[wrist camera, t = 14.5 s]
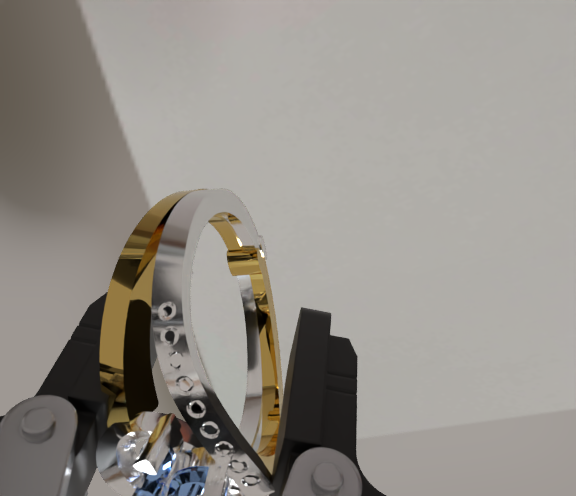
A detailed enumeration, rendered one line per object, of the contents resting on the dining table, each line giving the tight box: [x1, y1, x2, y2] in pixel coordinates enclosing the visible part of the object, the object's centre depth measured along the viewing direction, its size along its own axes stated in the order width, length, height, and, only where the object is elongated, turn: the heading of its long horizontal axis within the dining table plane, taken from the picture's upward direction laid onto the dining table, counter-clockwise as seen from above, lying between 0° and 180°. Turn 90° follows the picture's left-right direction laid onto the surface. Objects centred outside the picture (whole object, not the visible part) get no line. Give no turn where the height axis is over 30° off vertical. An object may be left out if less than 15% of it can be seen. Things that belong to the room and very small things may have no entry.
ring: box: [96, 188, 283, 496], centre depth 12 cm, size 7×3×8 cm, turn 10°
